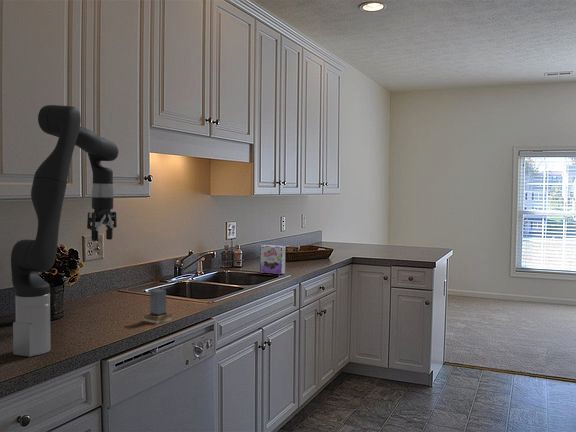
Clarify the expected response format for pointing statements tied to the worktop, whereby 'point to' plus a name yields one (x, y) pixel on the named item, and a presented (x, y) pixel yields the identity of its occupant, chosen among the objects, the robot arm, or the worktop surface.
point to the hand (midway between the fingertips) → (102, 240)
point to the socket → (157, 318)
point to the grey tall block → (157, 302)
